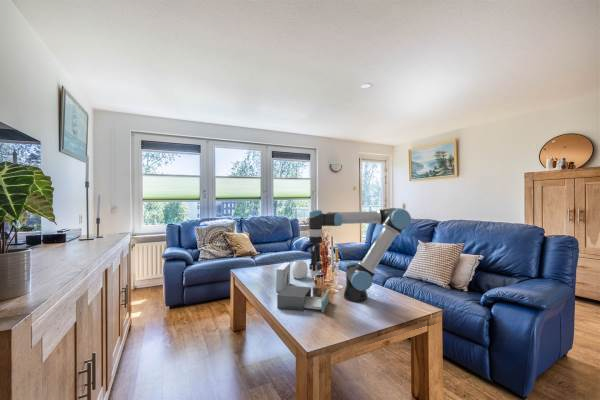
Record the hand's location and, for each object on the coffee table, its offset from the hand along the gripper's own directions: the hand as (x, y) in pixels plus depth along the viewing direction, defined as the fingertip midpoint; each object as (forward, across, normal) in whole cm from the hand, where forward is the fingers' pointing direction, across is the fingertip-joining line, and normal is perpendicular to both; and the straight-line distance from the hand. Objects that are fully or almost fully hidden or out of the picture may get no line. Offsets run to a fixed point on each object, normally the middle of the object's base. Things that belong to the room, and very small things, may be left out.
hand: (316, 274), depth 158 cm
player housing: (+19, 0, -13) cm, 23 cm away
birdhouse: (+19, 0, -2) cm, 19 cm away
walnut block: (+19, -14, -2) cm, 24 cm away
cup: (+19, -54, -26) cm, 63 cm away
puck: (-3, 0, 0) cm, 3 cm away
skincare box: (+19, -28, -30) cm, 46 cm away
